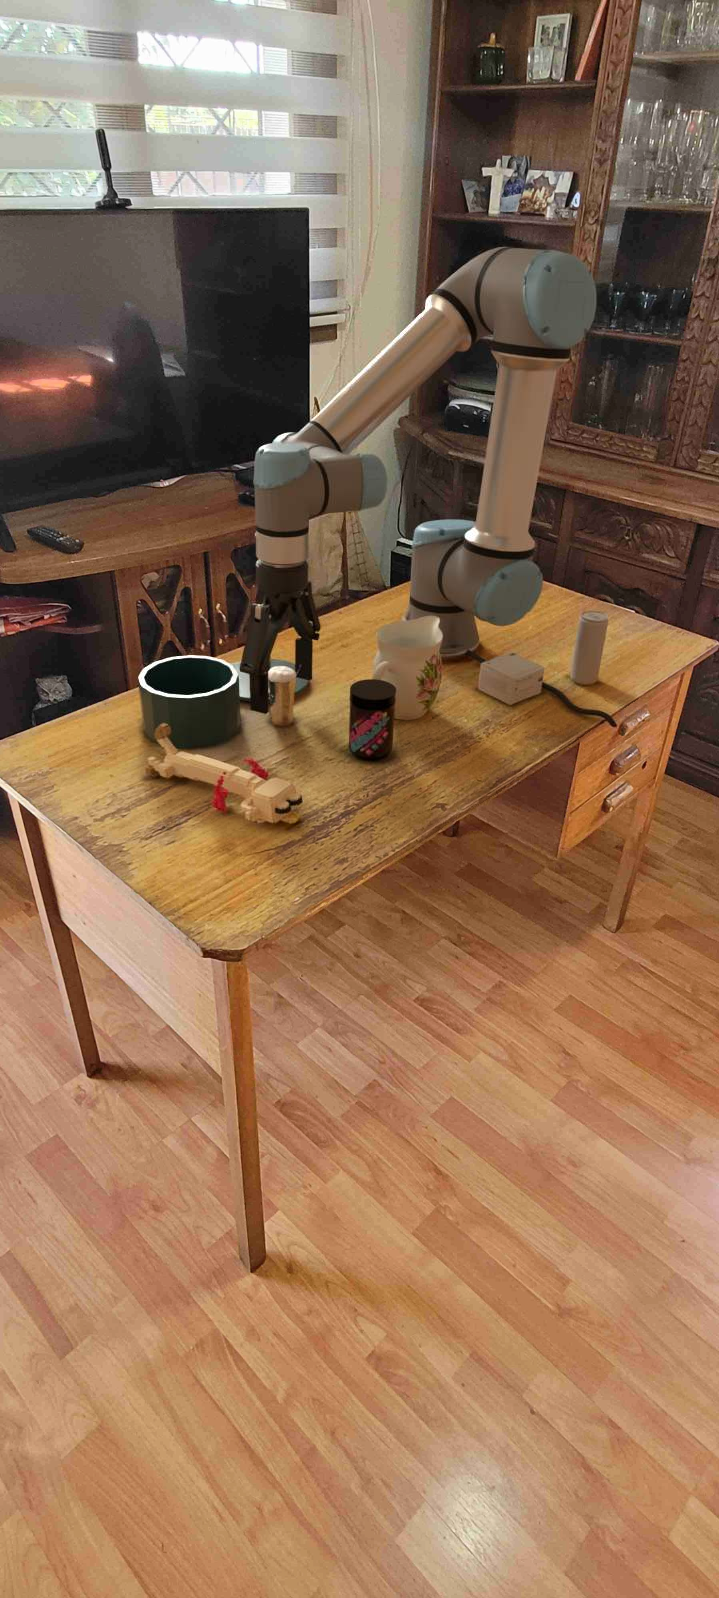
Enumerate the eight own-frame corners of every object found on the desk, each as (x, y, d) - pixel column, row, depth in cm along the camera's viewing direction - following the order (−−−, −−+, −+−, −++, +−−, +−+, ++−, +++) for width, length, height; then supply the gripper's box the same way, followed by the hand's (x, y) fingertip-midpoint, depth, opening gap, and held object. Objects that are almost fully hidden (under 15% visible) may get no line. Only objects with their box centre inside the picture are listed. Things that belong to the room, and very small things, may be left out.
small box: (510, 706, 154) (514, 678, 151) (476, 689, 159) (479, 661, 156) (541, 694, 158) (546, 666, 155) (507, 677, 163) (511, 650, 160)
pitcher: (342, 723, 147) (344, 643, 139) (402, 684, 160) (406, 608, 152) (401, 744, 142) (406, 661, 134) (458, 701, 155) (465, 624, 147)
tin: (257, 716, 148) (256, 667, 143) (205, 757, 137) (201, 706, 132) (180, 696, 153) (176, 648, 149) (124, 733, 142) (118, 683, 137)
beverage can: (585, 688, 160) (597, 623, 154) (563, 679, 163) (574, 614, 157) (602, 681, 163) (614, 616, 157) (580, 671, 166) (591, 608, 160)
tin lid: (324, 676, 161) (325, 629, 157) (279, 713, 149) (278, 663, 145) (247, 657, 167) (245, 611, 162) (196, 691, 155) (193, 643, 150)
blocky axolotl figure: (137, 791, 131) (276, 840, 118) (127, 735, 126) (270, 780, 114) (186, 762, 138) (322, 806, 125) (178, 708, 133) (318, 748, 121)
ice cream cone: (297, 730, 145) (297, 671, 139) (264, 726, 145) (262, 667, 140) (304, 717, 148) (304, 659, 143) (272, 713, 149) (270, 655, 144)
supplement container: (338, 749, 140) (340, 687, 134) (372, 736, 144) (375, 674, 138) (368, 767, 136) (371, 704, 130) (402, 753, 140) (406, 691, 134)
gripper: (301, 533, 144) (300, 660, 155) (211, 579, 124) (217, 720, 136) (344, 542, 141) (340, 670, 152) (259, 590, 122) (261, 732, 133)
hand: (282, 694), depth 144 cm, fingers open, 13 cm apart
